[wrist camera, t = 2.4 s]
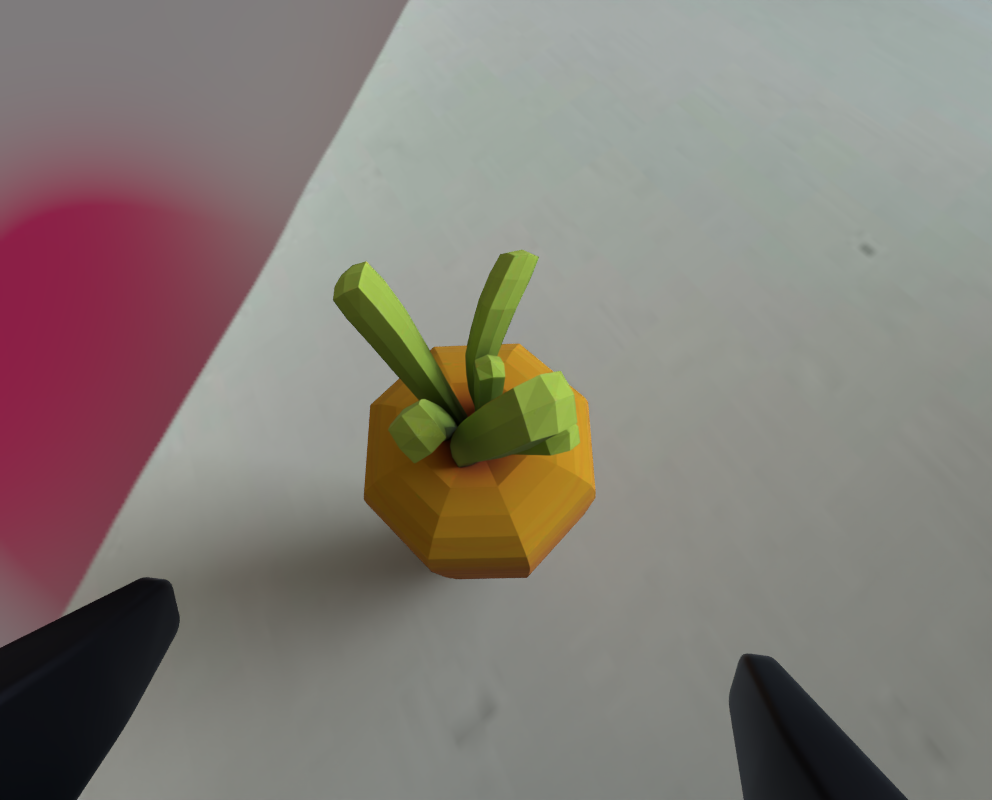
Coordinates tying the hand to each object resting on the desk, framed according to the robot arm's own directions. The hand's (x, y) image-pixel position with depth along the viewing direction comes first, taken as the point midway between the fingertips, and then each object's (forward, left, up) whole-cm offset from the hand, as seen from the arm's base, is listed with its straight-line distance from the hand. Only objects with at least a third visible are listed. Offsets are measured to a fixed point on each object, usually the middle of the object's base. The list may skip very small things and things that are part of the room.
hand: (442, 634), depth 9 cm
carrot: (+3, +1, -12) cm, 12 cm away
